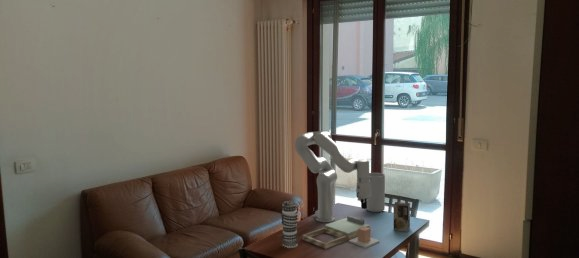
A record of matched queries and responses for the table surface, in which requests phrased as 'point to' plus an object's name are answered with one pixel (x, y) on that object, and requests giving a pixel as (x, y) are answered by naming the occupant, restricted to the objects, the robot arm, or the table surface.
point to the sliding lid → (347, 225)
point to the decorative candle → (289, 224)
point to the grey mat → (362, 244)
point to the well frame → (341, 235)
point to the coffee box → (401, 216)
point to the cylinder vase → (377, 192)
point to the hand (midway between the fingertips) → (364, 208)
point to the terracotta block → (364, 234)
